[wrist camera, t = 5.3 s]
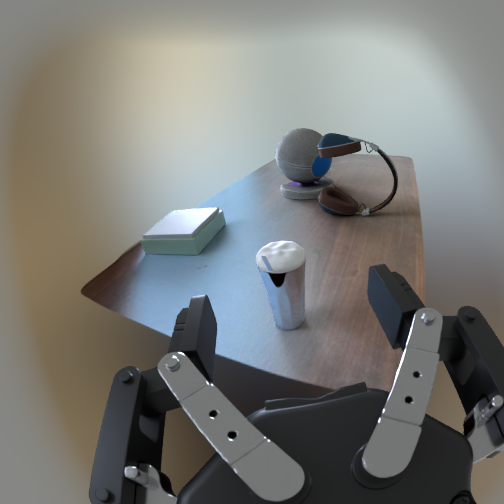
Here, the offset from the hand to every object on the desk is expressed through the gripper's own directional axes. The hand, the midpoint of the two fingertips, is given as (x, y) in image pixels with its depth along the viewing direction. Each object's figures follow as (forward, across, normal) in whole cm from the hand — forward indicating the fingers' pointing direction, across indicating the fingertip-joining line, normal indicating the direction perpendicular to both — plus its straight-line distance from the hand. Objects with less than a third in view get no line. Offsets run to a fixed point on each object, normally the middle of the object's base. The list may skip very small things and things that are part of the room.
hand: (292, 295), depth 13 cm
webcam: (+53, +11, -13) cm, 56 cm away
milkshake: (+11, 0, -13) cm, 17 cm away
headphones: (+37, +14, -13) cm, 42 cm away
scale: (+37, -16, -13) cm, 43 cm away
